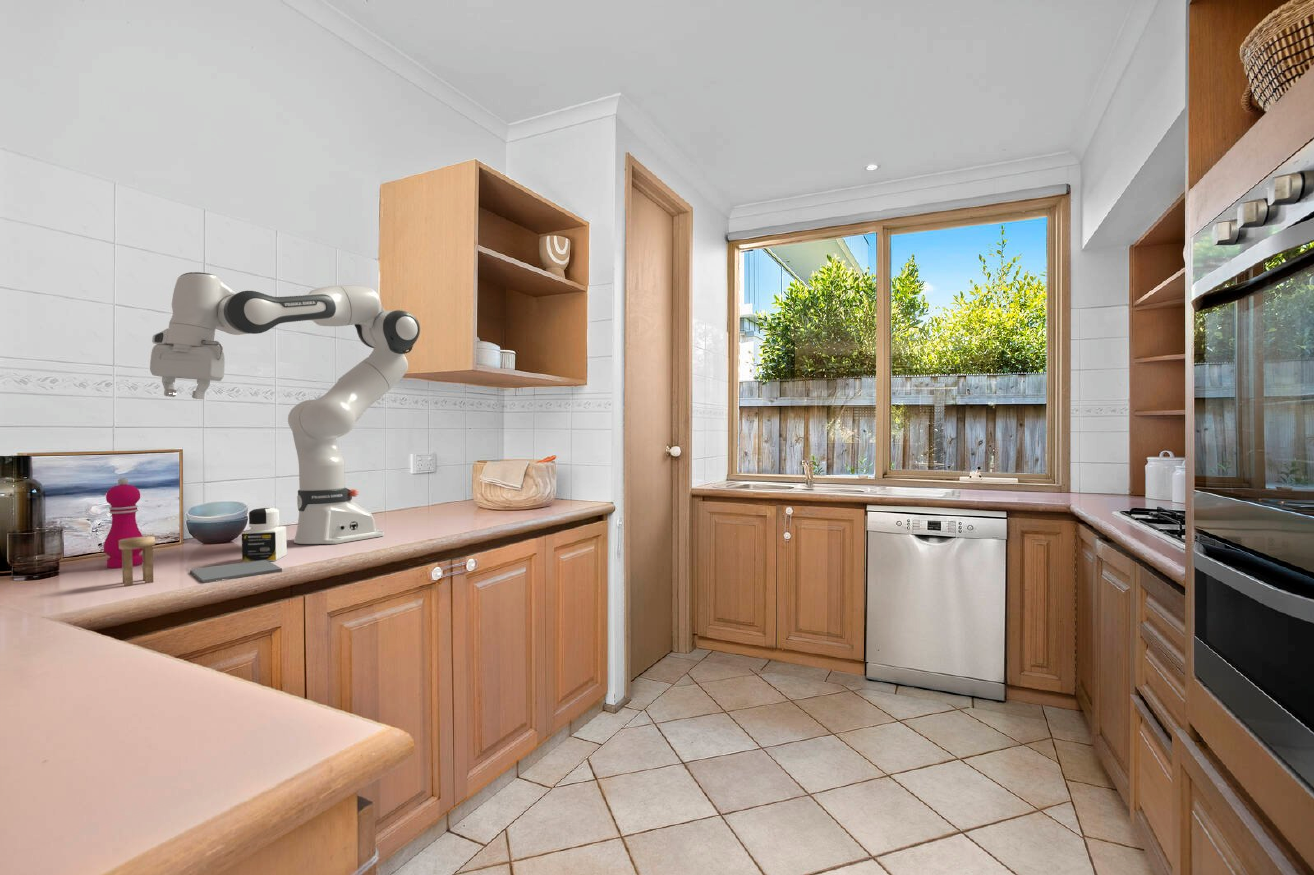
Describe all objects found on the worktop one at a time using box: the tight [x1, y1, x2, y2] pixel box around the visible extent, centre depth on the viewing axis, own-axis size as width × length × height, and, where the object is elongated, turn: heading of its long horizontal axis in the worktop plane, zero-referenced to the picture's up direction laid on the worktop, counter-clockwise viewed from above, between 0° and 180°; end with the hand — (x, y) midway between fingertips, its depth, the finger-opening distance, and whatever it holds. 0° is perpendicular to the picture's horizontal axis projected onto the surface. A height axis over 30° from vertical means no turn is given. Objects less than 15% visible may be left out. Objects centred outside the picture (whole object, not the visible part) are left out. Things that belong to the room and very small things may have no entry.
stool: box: [119, 536, 156, 587], centre depth 127 cm, size 6×6×9 cm
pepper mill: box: [103, 477, 144, 569], centre depth 144 cm, size 7×7×20 cm
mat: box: [189, 559, 283, 583], centre depth 135 cm, size 14×14×1 cm
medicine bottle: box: [241, 507, 288, 563], centre depth 149 cm, size 7×7×12 cm
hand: (183, 397), depth 148 cm, fingers open, 8 cm apart
